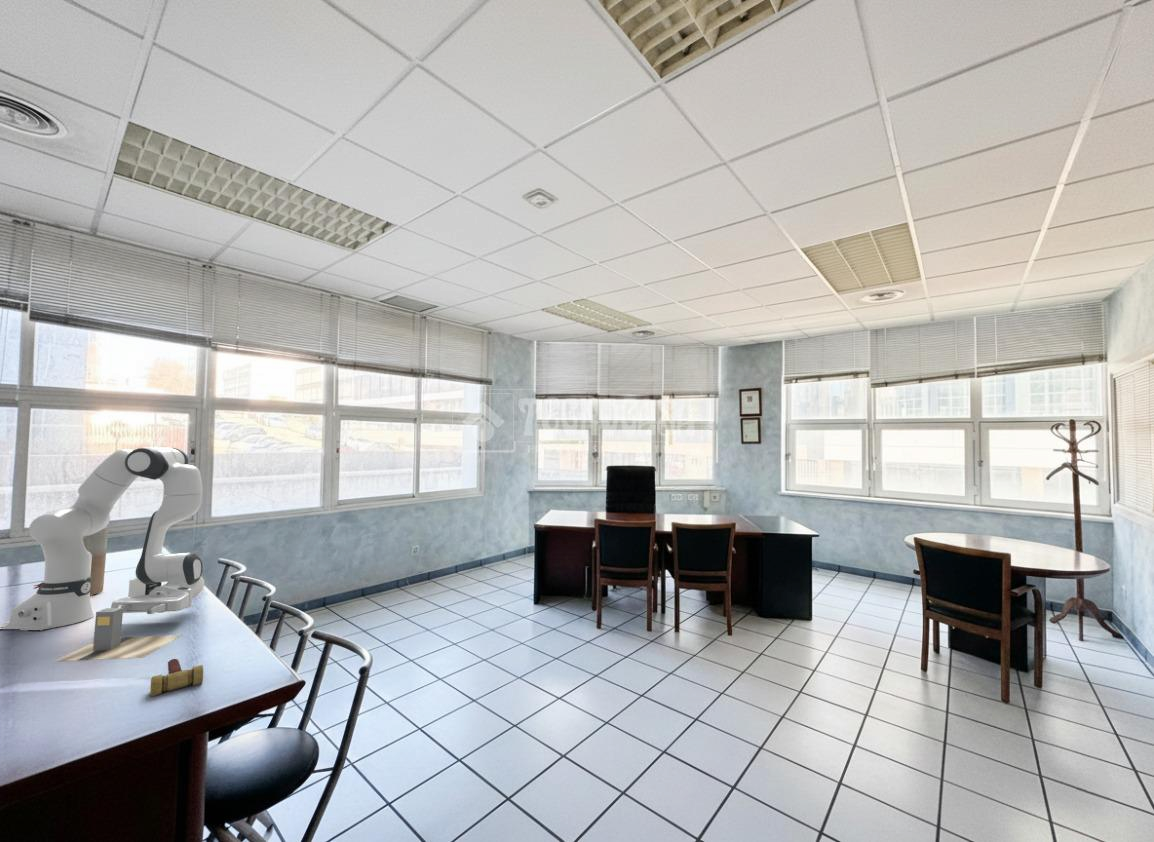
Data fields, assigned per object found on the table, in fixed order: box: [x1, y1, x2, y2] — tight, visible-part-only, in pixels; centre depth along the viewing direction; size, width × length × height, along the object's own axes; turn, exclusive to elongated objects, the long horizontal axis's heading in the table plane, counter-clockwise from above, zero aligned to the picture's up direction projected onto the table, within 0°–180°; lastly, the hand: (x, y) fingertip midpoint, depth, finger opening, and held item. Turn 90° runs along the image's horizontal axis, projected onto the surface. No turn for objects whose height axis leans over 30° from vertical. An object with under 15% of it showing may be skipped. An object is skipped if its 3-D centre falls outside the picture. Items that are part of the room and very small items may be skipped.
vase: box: [83, 524, 109, 596], centre depth 191 cm, size 10×10×28 cm
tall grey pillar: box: [93, 607, 124, 651], centre depth 138 cm, size 4×4×11 cm
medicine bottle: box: [127, 575, 162, 597], centre depth 190 cm, size 7×7×12 cm
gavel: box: [149, 658, 204, 697], centre depth 125 cm, size 21×5×10 cm
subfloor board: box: [53, 634, 183, 662], centre depth 138 cm, size 22×16×2 cm
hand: (132, 612), depth 147 cm, fingers open, 8 cm apart
